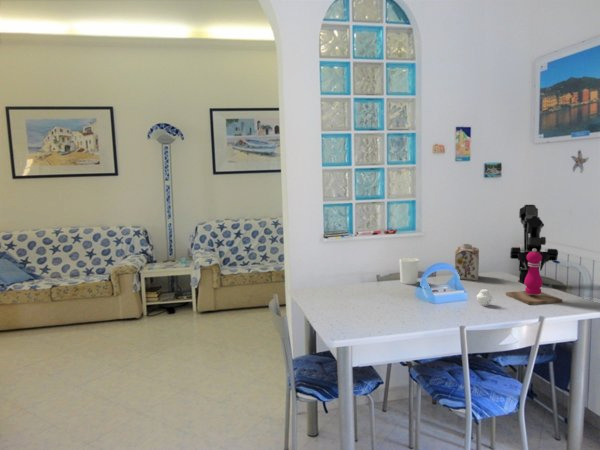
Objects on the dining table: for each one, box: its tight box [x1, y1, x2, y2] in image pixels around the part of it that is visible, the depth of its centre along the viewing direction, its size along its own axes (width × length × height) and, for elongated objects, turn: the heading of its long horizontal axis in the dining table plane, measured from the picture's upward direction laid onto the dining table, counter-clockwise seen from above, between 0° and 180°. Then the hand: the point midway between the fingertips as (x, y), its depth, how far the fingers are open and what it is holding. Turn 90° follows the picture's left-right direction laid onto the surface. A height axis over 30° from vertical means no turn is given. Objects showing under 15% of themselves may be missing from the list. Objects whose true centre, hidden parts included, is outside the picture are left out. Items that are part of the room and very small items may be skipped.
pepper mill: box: [523, 248, 544, 294], centre depth 200 cm, size 7×7×20 cm
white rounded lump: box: [476, 288, 493, 307], centre depth 193 cm, size 6×6×7 cm
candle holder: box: [398, 257, 420, 285], centre depth 234 cm, size 10×10×12 cm
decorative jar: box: [454, 243, 480, 281], centre depth 242 cm, size 12×12×18 cm
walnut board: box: [505, 290, 563, 306], centre depth 201 cm, size 16×16×1 cm
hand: (534, 269), depth 198 cm, fingers closed on pepper mill, 5 cm apart
